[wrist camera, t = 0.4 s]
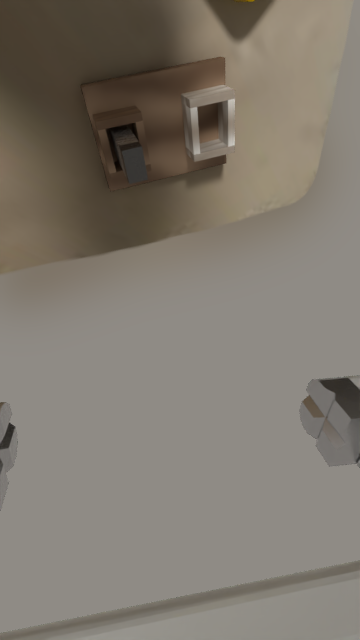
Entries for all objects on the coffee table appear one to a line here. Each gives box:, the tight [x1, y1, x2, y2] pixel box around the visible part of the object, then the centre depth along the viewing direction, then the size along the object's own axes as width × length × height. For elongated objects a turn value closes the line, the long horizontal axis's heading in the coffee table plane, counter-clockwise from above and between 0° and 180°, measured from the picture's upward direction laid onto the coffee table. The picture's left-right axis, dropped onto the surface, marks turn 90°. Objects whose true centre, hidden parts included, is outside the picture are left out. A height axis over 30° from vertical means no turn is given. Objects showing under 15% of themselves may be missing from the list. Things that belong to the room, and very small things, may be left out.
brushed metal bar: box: [109, 124, 148, 184], centre depth 44 cm, size 4×2×11 cm, turn 7°
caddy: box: [81, 57, 235, 192], centre depth 47 cm, size 14×20×6 cm
